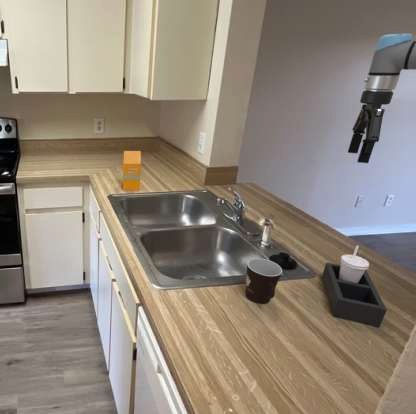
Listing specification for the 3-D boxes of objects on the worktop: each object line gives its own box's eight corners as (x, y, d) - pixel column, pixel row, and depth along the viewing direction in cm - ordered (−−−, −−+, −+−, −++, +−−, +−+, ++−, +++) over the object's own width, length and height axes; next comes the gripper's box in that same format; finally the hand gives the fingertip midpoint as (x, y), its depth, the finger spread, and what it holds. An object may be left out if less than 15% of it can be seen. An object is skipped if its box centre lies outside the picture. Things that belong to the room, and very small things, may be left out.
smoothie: (336, 279, 100) (350, 238, 94) (361, 289, 95) (378, 247, 90) (328, 287, 96) (342, 246, 90) (354, 299, 91) (371, 255, 86)
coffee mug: (243, 283, 99) (249, 255, 95) (275, 293, 95) (283, 263, 91) (236, 306, 90) (243, 275, 86) (271, 317, 86) (280, 286, 82)
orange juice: (122, 185, 181) (123, 149, 173) (138, 185, 181) (140, 149, 173) (123, 190, 174) (124, 152, 166) (139, 190, 173) (141, 152, 165)
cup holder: (360, 285, 98) (366, 270, 96) (379, 327, 83) (386, 309, 80) (321, 277, 102) (326, 262, 100) (332, 316, 86) (338, 299, 84)
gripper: (354, 87, 114) (336, 148, 122) (375, 93, 93) (352, 165, 102) (381, 88, 111) (361, 150, 120) (409, 93, 90) (382, 168, 99)
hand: (357, 157), depth 111 cm, fingers open, 13 cm apart
